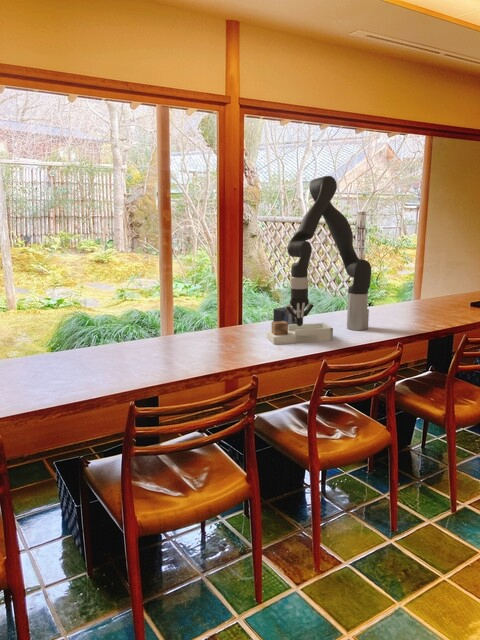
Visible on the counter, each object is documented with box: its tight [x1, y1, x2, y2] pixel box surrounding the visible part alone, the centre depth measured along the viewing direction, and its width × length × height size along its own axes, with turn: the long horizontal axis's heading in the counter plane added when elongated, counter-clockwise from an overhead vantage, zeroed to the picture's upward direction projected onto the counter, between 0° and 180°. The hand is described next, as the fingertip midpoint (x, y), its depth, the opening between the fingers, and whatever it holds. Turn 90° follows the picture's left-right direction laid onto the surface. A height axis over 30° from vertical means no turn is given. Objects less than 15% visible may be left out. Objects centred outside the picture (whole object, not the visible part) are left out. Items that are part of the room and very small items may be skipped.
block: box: [271, 321, 288, 335], centre depth 235 cm, size 6×5×5 cm
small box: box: [272, 306, 296, 325], centre depth 255 cm, size 11×6×10 cm, turn 129°
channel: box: [265, 322, 334, 345], centre depth 238 cm, size 27×11×6 cm, turn 103°
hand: (299, 325), depth 237 cm, fingers closed
